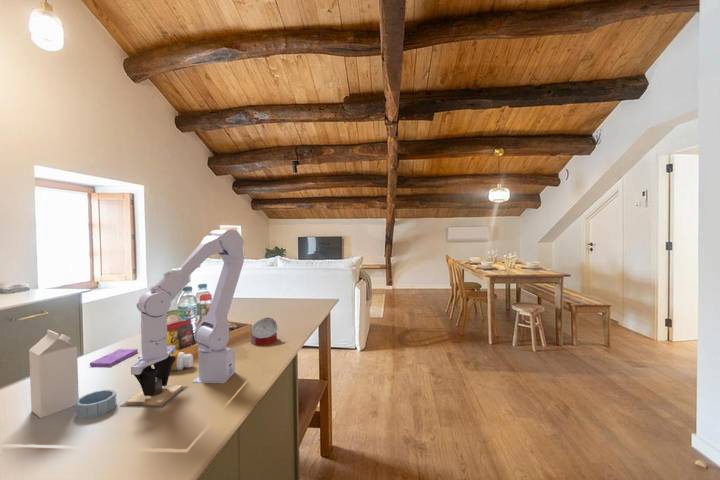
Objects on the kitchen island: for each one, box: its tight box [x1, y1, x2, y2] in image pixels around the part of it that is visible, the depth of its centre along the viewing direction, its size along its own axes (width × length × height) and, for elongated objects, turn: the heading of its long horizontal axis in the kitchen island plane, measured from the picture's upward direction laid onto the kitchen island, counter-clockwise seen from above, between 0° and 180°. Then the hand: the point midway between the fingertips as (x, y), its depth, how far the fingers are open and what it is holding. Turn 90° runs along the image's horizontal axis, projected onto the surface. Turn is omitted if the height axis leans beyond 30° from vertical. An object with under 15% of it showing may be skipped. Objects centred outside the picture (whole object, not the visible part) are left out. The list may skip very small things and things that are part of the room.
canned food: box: [250, 317, 278, 346], centre depth 131 cm, size 11×10×10 cm
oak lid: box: [126, 378, 184, 405], centre depth 87 cm, size 9×9×4 cm
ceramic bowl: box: [75, 389, 117, 419], centre depth 81 cm, size 8×8×4 cm
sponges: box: [89, 348, 139, 368], centre depth 114 cm, size 7×13×2 cm, turn 177°
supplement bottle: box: [170, 351, 194, 372], centre depth 104 cm, size 5×5×10 cm
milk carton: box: [28, 329, 80, 419], centre depth 82 cm, size 7×7×19 cm
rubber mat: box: [119, 385, 189, 409], centre depth 87 cm, size 11×11×1 cm
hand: (155, 390), depth 87 cm, fingers open, 5 cm apart
